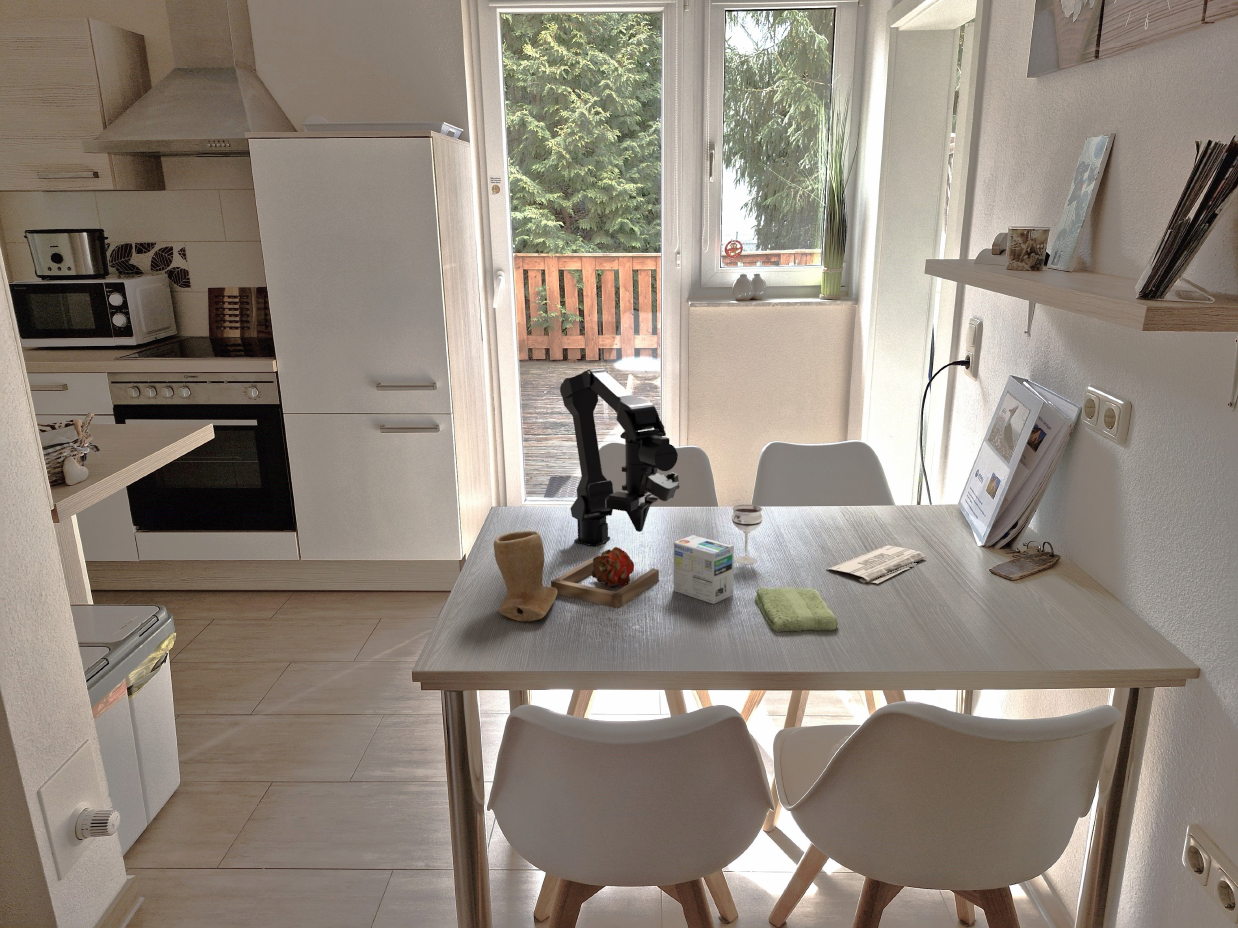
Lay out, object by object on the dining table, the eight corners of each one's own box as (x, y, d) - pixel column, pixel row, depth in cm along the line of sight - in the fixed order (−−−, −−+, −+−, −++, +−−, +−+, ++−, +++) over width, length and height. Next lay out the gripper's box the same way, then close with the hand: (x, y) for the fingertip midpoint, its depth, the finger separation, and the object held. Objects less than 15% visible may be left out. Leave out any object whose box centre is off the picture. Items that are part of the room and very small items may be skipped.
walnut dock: (551, 592, 179) (550, 581, 179) (594, 567, 193) (594, 556, 192) (618, 608, 171) (618, 596, 171) (658, 580, 185) (658, 569, 184)
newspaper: (874, 589, 181) (874, 577, 180) (826, 578, 190) (825, 567, 190) (934, 562, 195) (934, 551, 194) (886, 554, 204) (886, 543, 204)
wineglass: (760, 555, 199) (761, 504, 196) (762, 565, 193) (763, 513, 190) (730, 554, 200) (731, 503, 197) (731, 565, 193) (732, 513, 190)
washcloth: (816, 596, 177) (816, 581, 176) (841, 634, 160) (841, 617, 159) (751, 598, 177) (751, 583, 176) (769, 636, 160) (770, 619, 159)
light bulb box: (734, 595, 177) (735, 544, 174) (714, 605, 172) (714, 553, 170) (692, 582, 184) (693, 533, 181) (672, 591, 179) (672, 541, 177)
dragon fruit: (604, 603, 178) (613, 589, 189) (638, 580, 176) (645, 567, 188) (580, 568, 178) (591, 556, 189) (613, 545, 176) (623, 535, 188)
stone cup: (506, 591, 180) (503, 522, 176) (563, 595, 178) (561, 524, 174) (483, 622, 166) (479, 547, 162) (544, 626, 164) (541, 550, 160)
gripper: (650, 476, 176) (650, 549, 179) (692, 456, 191) (691, 525, 195) (603, 469, 181) (604, 541, 185) (647, 451, 197) (647, 517, 200)
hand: (639, 531), depth 191 cm, fingers closed
